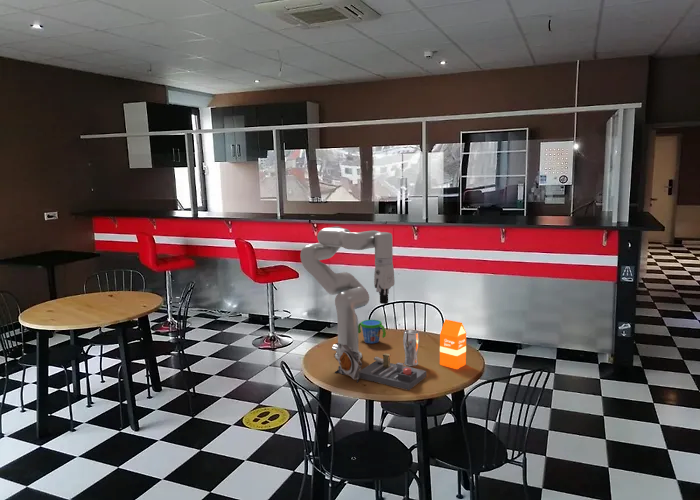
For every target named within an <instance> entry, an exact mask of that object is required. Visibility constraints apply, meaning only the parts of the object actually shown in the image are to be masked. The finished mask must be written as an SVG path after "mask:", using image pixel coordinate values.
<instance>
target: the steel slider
mask: <svg viewBox="0 0 700 500" xmlns="http://www.w3.org/2000/svg"><path fill="white" fill-rule="evenodd" d="M395 364H396V365H397V371H399V372H401V371H403V366H405V364H404V363H403V362H398V361H397V362H396V363H395Z"/></svg>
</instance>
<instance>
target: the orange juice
mask: <svg viewBox="0 0 700 500" xmlns="http://www.w3.org/2000/svg"><path fill="white" fill-rule="evenodd" d="M443 321H444V322H443V325H442V327H441V330H440V333H439V365H440V366H443V367H447V368H451V369H454V370H459V369H460V368H462V367H464V366H466V364H467V363H466V362H467V360H466V359H467V332H466V329H465V327H464V324H463V323H462V322H460V321H455V320H451V319H446V318H445V319H444V320H443Z"/></svg>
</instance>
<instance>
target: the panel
mask: <svg viewBox="0 0 700 500" xmlns="http://www.w3.org/2000/svg"><path fill="white" fill-rule="evenodd" d="M404 368H411V375H410V376H409V375H405V374H403V371H401V372H399V371H397V365H396V363H391V362H390V367H389V368H386V367H383V363H381V362H378V361H376V360H374V362H372V363H370V364H369V365H367V366H365V367H363V368H361V372H360V370H359V372H360V374H359V379H360V380H366V381H370V382H373V381H374V382H375V383H377V382H378V383H379V384H382V385H385V384H386V386H389V387H395V388H398V389H402V390H406V389H407V390H406V391H410V390H411V389H412V388H414V387H415V386H416V385H418V384H419V383H420V382H421V381H422V380H425V378H427V370H424V369H419V368H414V367H412V366H406V365H403V369H404ZM360 376H361V378H360Z"/></svg>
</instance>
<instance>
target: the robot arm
mask: <svg viewBox="0 0 700 500" xmlns="http://www.w3.org/2000/svg"><path fill="white" fill-rule="evenodd" d="M316 238H317V241H318V242H316V243H309V244H306V245H305V246H304V247H302V249H301V251H300V262H301V264H302V266H303V268H304V269H305V270H306V272H308V274H310V275H311V276H312V277H313V278H314V279H315V280H316V281H317V282H318V283H319V285H320V286H321V287H322V288H323V289H324V290H325V291H326V292H327V294H329V295H331V296H334V295H335V298H334V306H335V310H336V317H337V343H339V344H345V345H347V346H349V347H351V348H352V349H353V350H354V352H358V353H359V359H360V360H361V359H362V357H363V353H362V352H361V351H359V350H360V349H359V333H358V325H359V318H358V315H357V313H356V311H355V310H357V309H361V308H364V307H365V306H367V304H369V302H370V294H369V292H368V290H367V289H366V288H365V287H364V286H363V284H361V282H360V281H359V280H358V279H357V278H356V277H355V276H354V275H352V274H351V273H349V272H347V271H346V272H345V271H343V272H337V273H336V272H334V270H333V269H331V268H330V266H329V265H328V264H326V263H324V262H322V261H323V260H324V261H325V260H328V259H331V258H332V257H333V256H334V255H335V254H336V253H337V252H338V251H339V249H341V248H343V249H346V250H354V251H363V250H367V249H368V250H369V249H373V248H374V276H373V277H374V279H373V283H374V288H375V289H376V292H377V293H378V294H379V303H380V304H381V305H382V304H383V305H387V304H389V294H390V293H389V292H390V289H391V287H394V285H395V269H394V263H393V260H394V259H393V256H394V255H393V253H394V252H393V234H392V233H391V232H387V231H378V230H375V229H374V230H367V231H359V232H358V231H357V232H354V231H353V232H351V231H350V230H349V229H348V228H343V227H342V226H330V227H324V228H322V229H320V230H319V231H318V233H317V236H316ZM331 350H332V351H336V353H335V354H334V358H335V359H336V360H338V357H339V354H340V351H341V350H340V349H339V348H338V346H337V345H336V344H333V345H332V347H331Z"/></svg>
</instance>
